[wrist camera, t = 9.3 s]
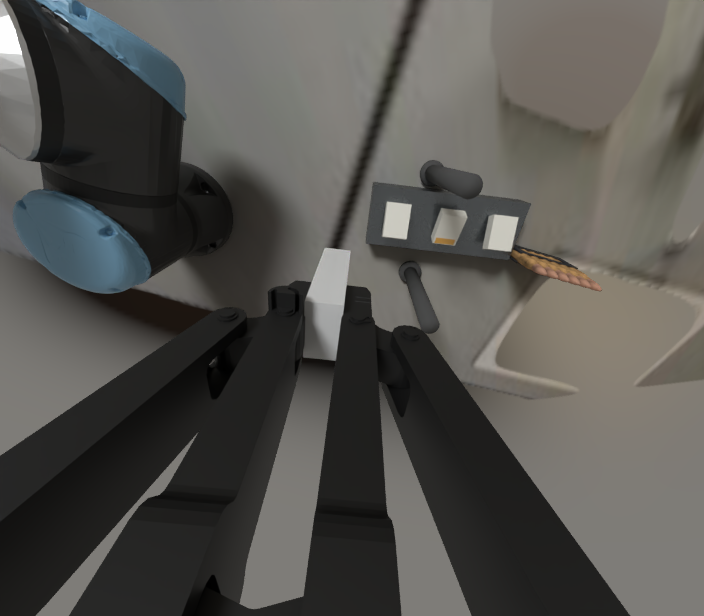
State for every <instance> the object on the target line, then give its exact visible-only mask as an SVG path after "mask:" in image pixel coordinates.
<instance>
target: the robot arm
mask: <svg viewBox="0 0 704 616" xmlns="http://www.w3.org/2000/svg"><path fill="white" fill-rule="evenodd" d="M185 88H186V87H185V80H184V77H183V74H182V72H181V71H180V69H179V67H178V66H177V65H176V64H175V63H174V62H173V61H172V60H171V59H170V58H169V57H167V56H166V55H165V54H163V53H162V52H161V51H159V50H158V49H156V48H154V47H153V46H152V45H150V44H149V43H147V42H145V41H144V40H142V39H141V38H139V37H138V36H136V35H135V34H133V33H131V32H130V31H128V30H127V29H125V28H123V27H122V26H120V25H118V24H117V23H115V22H113V21H112V20H110V19H108V18H107V17H105V16H103V15H102V14H100V13H98V12H96V11H95V10H93V9H91V8H87V7H85V6H84V5H83V4H82V3H80V2H78V1H77V0H0V146H1V147H3V148H4V149H6V150H7V151H8V152H10V153H11V154H12V155H14V156H15V157H17V158H18V159H22V160H27V161H35V162H40V164H41V172H42V180H43V187H44V189H42V190H41V189H39V190H34V191H31V192H29V193H28V194H27V195H25V196H23V198H22V200H19V201H17V202H16V204H15V206H14V209H13V222H14V226H15V229H16V231H17V234H18V236H19V238H20V240H21V241H22V243H23V244H24V246H25V247H26V248H27V250H28V251H29V252H30V253H31V254H32V256H33V257H34V258H35V259H36V260H37V261H38V262H39V263H41V264H42V265H44V266H45V267H46V268H47V269H48V270H49V271H50V272H52V273H53V274H54V275H56V276H57V277H59V278H61V279H62V280H64V281H66V282H68V283H70V284H72V285H74V286H76V287H79V288H82V289H85V290H88V291H92V292H97V293H117V292H121V291H124V290H127V289H129V288H131V287H133V286H135V285H139V284H141V283H144V282H146V281H147V280H148V279H149V278H151V277H152V276H154V275H155V274H157V273H158V272H160V271H162V270H163V269H165V268H166V267H168V266H170V265H171V264H173V263H174V262H176V261H177V260H179V259H181V258H182V257H192V256H203V255H206V254H209V253H211V252H213V251H215V250H216V249H218V248H219V247H221V246H222V245H223V244H224V243H225V242H226V241H227V239H228V238H229V236H230V233H231V230H232V225H233V215H232V209H231V206H230V203H229V200H228V198H227V196H226V194H225V192H224V191H223V189H222V188H221V186H220V185H219V184H218V183H217V182H216V181H215V179H214V178H212V177H211V176H210V175H209V174H208V173H206V172H205V171H203V170H202V169H200V168H198V167H196V166H194V165H192V164H188V163H185V162H181V150H182V137H183V125H184V121H186V113H185ZM350 252H351V251H348V250H339V249H331V248H325V249H324V252H323V254H322V257H321V260H320V262H319V265H318V267H317V270H316V273H315V275H314V278H313V281H312V282H305V281H295V282H293V283H291V284H290V285H289V286H277V287H274V288H271V289H270V290H269V291H268V305H269V311H268V312H267V314H266V316H263V317H257V318H247V316H246V313H245V311H244V310H241V309H239V308H233V307H229V308H228V307H226V308H222V309H218V310H216V311H214V312H212V313H210V314H209V315H207V316H206V317H204V318H203V319H202V320H200V321H199V322H197V323H196V324H194V325H193V326H191V327H190V328H188V329H187V330H185V331H184V332H182V333H181V334H179V335H178V336H176V337H175V338H174V339H172V340H171V341H169V342H168V343H166V344H165V345H163V346H162V347H160V348H159V349H157V350H156V351H154V352H153V353H152V354H150V355H148V356H147V357H145V358H144V359H143V360H141V361H140V362H138V363H137V364H135V365H134V366H132V367H131V368H129V369H128V370H126V371H125V372H123V373H122V374H120V375H119V376H117V377H116V378H114V379H113V380H111V381H110V382H109V383H107V384H106V385H104V386H103V387H101V388H100V389H98V390H97V391H95V392H94V393H92V394H91V395H89V396H88V397H86V398H85V399H83V400H82V401H80V402H79V403H78V404H76V405H75V406H73V407H72V408H70V409H69V410H67V411H66V412H64V413H63V414H61V415H60V416H58V417H57V418H55V419H54V420H53V421H51V422H50V423H48V424H46V425H45V426H44V427H42V428H41V429H39V430H38V431H36V432H35V433H33V434H32V435H30V436H29V437H27V438H26V439H24V440H23V441H21V442H20V443H18V444H17V445H16V446H14V447H13V448H11V449H10V450H8V451H7V452H5V453H4V454H2V455H1V456H0V616H36V614H37V613H38V612H39V611H40V610H41V609H42V608H43V607H44V606H45V605H46V604H47V603H48V602H49V600H50V599H51V598H52V597H53V596H54V595H55V594H56V593H57V591H58V590H59V589H60V588H61V587H62V586H63V585H64V583H65V582H66V581H67V580H68V579H69V578H70V577H71V576H72V574H73V573H74V572H75V571H76V570H77V569H78V568H79V566H80V565H81V564H82V563H83V562H84V561H85V560H86V559H87V557H88V556H89V555H90V554H91V553H92V552H93V551H94V549H95V548H96V547H97V546H98V545H99V544H100V542H101V541H102V540H103V539H104V538H105V537H106V536H107V535H108V534H109V532H110V531H111V530H112V529H113V528H114V527H115V526H116V525H117V523H118V522H119V521H120V520H121V519H122V518H123V516H124V515H125V514H126V513H127V512H128V511H129V510H130V509H131V508H132V506H133V505H134V504H135V503H136V502H137V501H138V500H139V498H140V497H141V496H142V495H143V494H144V493H145V492H146V491H147V489H148V488H149V487H150V486H151V485H152V484H153V483H154V482H155V480H156V479H157V478H158V477H159V476H160V475H161V473H162V472H163V471H164V470H165V469H166V468H167V467H168V466H169V464H170V463H171V462H172V461H173V460H174V459H175V458H176V457H177V455H178V454H179V453H180V452H181V451H182V450H183V449H184V448H185V446H186V445H187V444H188V443H189V442H190V441H191V440H192V439H193V437H194V436H195V435H196V434H197V433H198V434H197V436H196V438H195V439H194V441H193V443H192V445H191V446H190V448H189V450H188V452H187V453H186V455H185V457H184V458H183V460H182V462H181V464H180V466H179V467H178V469H177V471H176V473H175V474H174V476H173V478H172V479H171V481H170V483H169V484H168V486H167V487H166V489H165V490H164V491H163V492H162V493H161V494H160V495H158V496H154V497H151V498H148V499H147V500H146V501H145V502H143V503H142V504H141V505H140V506H139V507H138V509H137V510H136V511H135V513H134V514H133V515H132V517H131V518H130V519H129V521H128V522H127V524H126V526H125V527H124V529H123V530H122V532H121V534H120V535H119V537H118V539H117V540H116V542H115V543H114V545H113V547H112V548H111V550H110V551H109V553H108V554H107V556H106V558H105V559H104V561H103V562H102V564H101V566H100V567H99V569H98V570H97V572H96V574H95V575H94V577H93V578H92V580H91V582H90V583H89V585H88V586H87V588H86V590H85V591H84V593H83V594H82V596H81V598H80V599H79V601H78V602H77V604H76V606H75V607H74V609H73V610H72V612H71V614H70V615H69V616H401V605H400V592H399V580H398V568H397V555H396V544H395V535H394V528H393V524H392V520H391V519H390V518H389V517H388V514H387V507H386V494H385V479H384V463H383V446H382V432H381V431H382V430H381V414H380V399H379V383H378V381H379V382H382V389H383V391H384V393H385V396H386V399H387V401H388V404H389V406H390V409H391V411H392V414H393V417H394V419H395V422H396V424H397V427H398V429H399V432H400V434H401V437H402V439H403V442H404V444H405V447H406V450H407V452H408V454H409V457H410V460H411V462H412V465H413V467H414V470H415V473H416V475H417V478H418V480H419V483H420V485H421V488H422V490H423V493H424V495H425V498H426V501H427V503H428V506H429V508H430V510H431V513H432V516H433V518H434V521H435V523H436V526H437V529H438V531H439V534H440V536H441V539H442V541H443V544H444V546H445V549H446V551H447V554H448V557H449V559H450V562H451V564H452V567H453V569H454V572H455V574H456V577H457V579H458V582H459V585H460V587H461V590H462V592H463V595H464V597H465V600H466V602H467V605H468V608H469V610H470V612H471V615H472V616H630V615H629V614H628V612H627V611H626V610H625V608H624V607H623V605H622V604H621V602H620V601H619V600H618V599H617V597H616V596H615V594H614V593H613V592H612V590H611V589H610V587H609V586H608V585H607V583H606V582H605V580H604V579H603V578H602V576H601V575H600V574H599V572H598V571H597V569H596V568H595V567H594V565H593V564H592V562H591V561H590V560H589V558H588V557H587V556H586V554H585V553H584V552H583V550H582V549H581V547H580V546H579V545H578V543H577V542H576V541H575V539H574V538H573V536H572V535H571V533H570V532H569V531H568V529H567V528H566V527H565V525H564V524H563V522H562V521H561V520H560V518H559V517H558V516H557V514H556V513H555V511H554V510H553V509H552V507H551V506H550V504H549V503H548V502H547V500H546V499H545V498H544V496H543V495H542V494H541V492H540V491H539V489H538V488H537V487H536V485H535V484H534V483H533V481H532V480H531V478H530V477H529V476H528V474H527V473H526V471H525V470H524V469H523V467H522V466H521V464H520V463H519V462H518V460H517V459H516V458H515V456H514V455H513V454H512V452H511V451H510V449H509V448H508V447H507V445H506V444H505V442H504V441H503V440H502V438H501V437H500V435H499V434H498V433H497V431H496V430H495V429H494V427H493V426H492V424H491V423H490V422H489V420H488V419H487V418H486V416H485V415H484V413H483V412H482V411H481V409H480V408H479V406H478V405H477V404H476V402H475V401H474V400H473V398H472V397H471V395H470V394H469V393H468V391H467V390H466V389H465V387H464V386H463V384H462V383H461V382H460V380H459V379H458V378H457V376H456V375H455V373H454V372H453V371H452V369H451V368H450V366H449V365H448V364H447V362H446V361H445V360H444V358H443V357H442V355H441V354H440V353H439V351H438V350H437V349H436V347H435V346H434V344H433V343H432V342H431V340H430V339H429V337H428V336H427V335H426V334H425V333H424V332H423V331H422V330H420V329H418V328H416V327H413V326H406V325H403V326H398V327H396V328H394V330H393V332H389V331H386V330H384V329H381V328H379V327H378V326H377V325H375V321H374V319H373V317H372V309H371V293H370V291H369V290H368V289H367V288H365V287H356V286H347V280H348V270H349V261H350ZM302 352H303V357H306V358H316V359H326V360H335V361H336V363H335V370H334V379H333V385H332V393H331V400H330V401H331V402H330V408H329V416H328V423H327V431H326V439H325V446H324V454H323V461H322V469H321V476H320V484H319V491H318V499H317V506H316V511H315V517H314V523H313V531H312V538H311V545H310V553H309V560H308V568H307V575H306V582H305V590H304V597H300V598H296V599H293V600H289V601H285V602H282V603H278V604H274V605H271V606H267V607H263V608H260V609H249V608H246V607H244V606H243V605H240V604H239V603H240V598H241V594H242V589H243V584H244V576H245V568H246V562H247V558H248V554H249V550H250V547H251V543H252V539H253V536H254V532H255V529H256V525H257V522H258V518H259V514H260V511H261V507H262V504H263V500H264V497H265V493H266V489H267V486H268V482H269V479H270V475H271V471H272V468H273V464H274V461H275V457H276V454H277V450H278V446H279V443H280V439H281V436H282V432H283V429H284V425H285V421H286V418H287V414H288V411H289V407H290V403H291V400H292V396H293V392H294V389H295V386H296V382H297V378H298V375H299V371H300V368H301V356H302ZM213 359H215V361H214V362H213V363H212V364H211V365H209V364H210V363H211V362H212V360H213Z"/></svg>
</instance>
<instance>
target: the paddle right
mask: <svg viewBox="0 0 704 616" xmlns="http://www.w3.org/2000/svg"><path fill="white" fill-rule="evenodd" d="M518 218H519V217H512V216H503V215H491V216H489V218H488V223H487V228H486V233H485V238H484V243H483V248H482V249H488V250H496V251H505V252H511V249H512V245H513V240H514V236H515V231H516V227H517V222H518Z"/></svg>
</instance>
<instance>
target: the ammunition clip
mask: <svg viewBox="0 0 704 616" xmlns="http://www.w3.org/2000/svg"><path fill="white" fill-rule="evenodd" d="M510 259H512V260H513V261H515V262H516V263H520V264H522V265H523V266H524V267H526V268H527V269H530V270H532V271H534V272H535V273H537V274H540V275H543V276H548V277H550V278H554V279H559V280H561V281H564V282H569V283H571V284H575V285H579V286H582V287H585V288H590V289H592V290H596V291H602V290H601V287H600V286H599V285H598V284H597V283H596V282H594V281H593V280H591V279H590V278H589V277H587V276H586V275H585V274H584V273H582V272H581V271H579V270H577V269H578V268H576V267H575V266H573V265H571V264H569V263H568V262H566V261H564V260H562V259H561V258H558V257H554V256H551V255H548V254H544V253H541V252H537V251H534V250H531V249H527V248H524V247H520V246H517V245H514V248H513V250H512V253H511V255H510Z"/></svg>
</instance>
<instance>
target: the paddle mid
mask: <svg viewBox="0 0 704 616" xmlns="http://www.w3.org/2000/svg"><path fill="white" fill-rule="evenodd" d="M466 220H467V215H466V212H465V211H462V210H454V209H445V208H441V210H440V213H439V215H438V218H437V221H436V224H435V226H434V229H433V232H432V235H431V239H432V243H436V244H444V245H453V246H455V244H456V242H457V240H458V238H459V235H460V233H461V231H462V229H463V227H464V224H465V222H466Z"/></svg>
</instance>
